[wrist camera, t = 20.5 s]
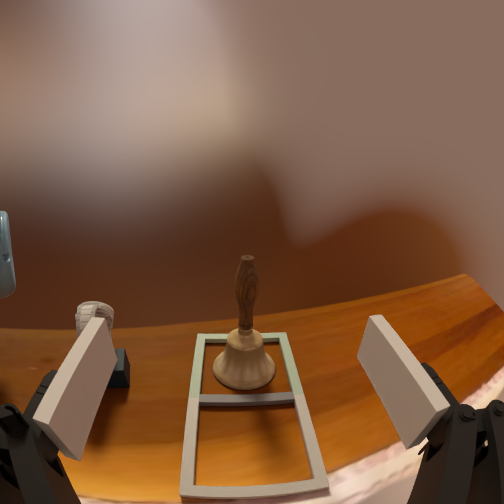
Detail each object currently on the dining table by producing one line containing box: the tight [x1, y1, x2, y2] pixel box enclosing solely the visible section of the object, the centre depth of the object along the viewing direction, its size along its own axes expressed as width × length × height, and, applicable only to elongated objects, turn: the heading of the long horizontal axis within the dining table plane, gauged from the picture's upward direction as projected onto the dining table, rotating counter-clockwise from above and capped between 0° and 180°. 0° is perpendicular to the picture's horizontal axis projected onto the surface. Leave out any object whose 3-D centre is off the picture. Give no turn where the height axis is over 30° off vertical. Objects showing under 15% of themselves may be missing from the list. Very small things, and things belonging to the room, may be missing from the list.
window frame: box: [179, 332, 329, 499], centre depth 28 cm, size 13×26×1 cm, turn 4°
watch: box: [75, 301, 130, 388], centre depth 28 cm, size 6×8×11 cm
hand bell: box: [213, 255, 275, 390], centre depth 32 cm, size 8×8×16 cm
